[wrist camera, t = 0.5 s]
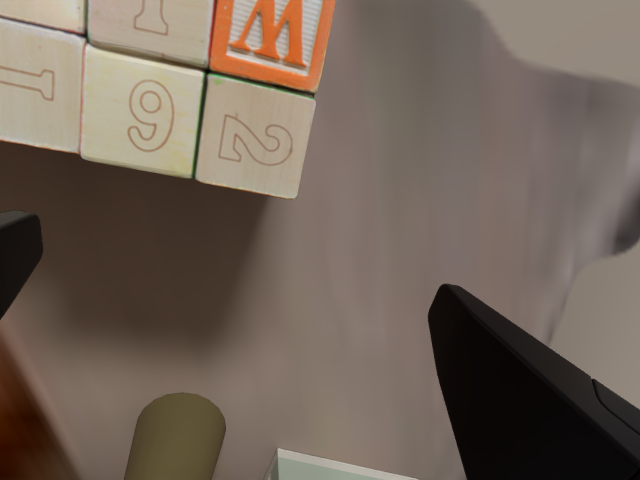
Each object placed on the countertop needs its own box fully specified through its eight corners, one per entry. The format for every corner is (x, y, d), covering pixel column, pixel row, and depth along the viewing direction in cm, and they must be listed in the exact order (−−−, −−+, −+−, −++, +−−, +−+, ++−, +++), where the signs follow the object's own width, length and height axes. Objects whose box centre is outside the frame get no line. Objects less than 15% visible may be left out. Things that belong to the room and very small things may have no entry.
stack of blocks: (-147, 75, 20) (-748, 13, 8) (-160, -70, 18) (-939, -416, 6) (282, 162, 24) (299, 205, 12) (303, 49, 22) (347, -29, 10)
